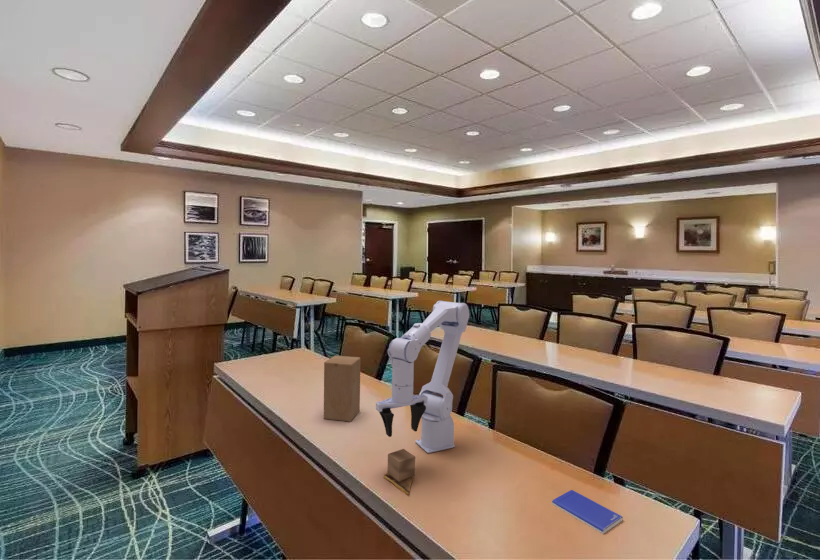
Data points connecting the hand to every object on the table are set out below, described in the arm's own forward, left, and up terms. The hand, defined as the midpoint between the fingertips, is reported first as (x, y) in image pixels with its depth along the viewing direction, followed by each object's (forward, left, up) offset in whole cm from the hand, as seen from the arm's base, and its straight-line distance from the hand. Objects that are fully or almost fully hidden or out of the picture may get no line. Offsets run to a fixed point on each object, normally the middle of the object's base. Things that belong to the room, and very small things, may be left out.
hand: (401, 432), depth 111 cm
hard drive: (-30, +35, -10) cm, 47 cm away
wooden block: (+4, -40, -10) cm, 41 cm away
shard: (+2, +7, -10) cm, 12 cm away
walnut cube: (+3, +6, -8) cm, 10 cm away
